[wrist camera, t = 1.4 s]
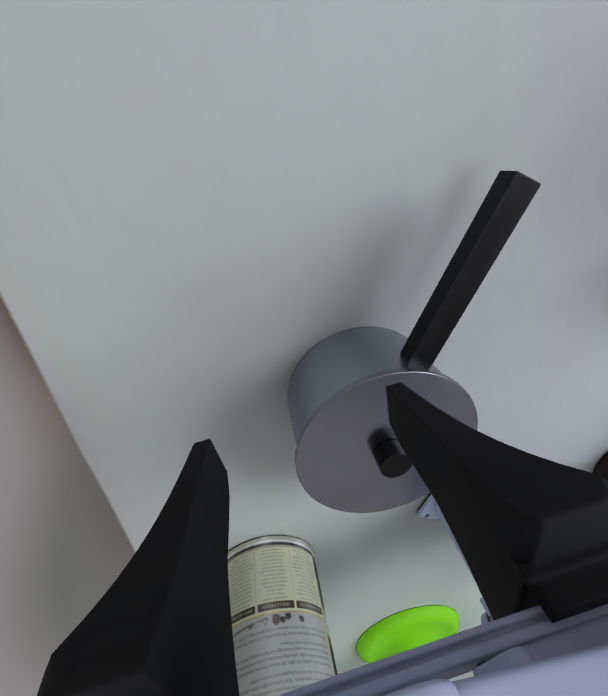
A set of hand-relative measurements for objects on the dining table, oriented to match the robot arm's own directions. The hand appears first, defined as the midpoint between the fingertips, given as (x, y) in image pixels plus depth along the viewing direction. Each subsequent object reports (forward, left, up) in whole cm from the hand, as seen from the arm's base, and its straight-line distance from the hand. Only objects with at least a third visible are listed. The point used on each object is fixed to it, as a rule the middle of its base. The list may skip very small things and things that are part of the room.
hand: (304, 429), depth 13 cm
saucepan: (-8, -1, -10) cm, 13 cm away
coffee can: (-8, +27, -11) cm, 30 cm away
